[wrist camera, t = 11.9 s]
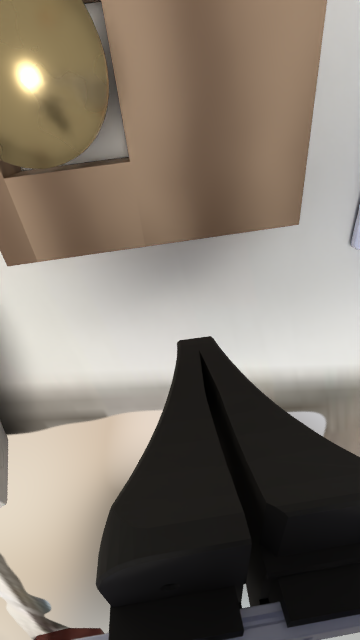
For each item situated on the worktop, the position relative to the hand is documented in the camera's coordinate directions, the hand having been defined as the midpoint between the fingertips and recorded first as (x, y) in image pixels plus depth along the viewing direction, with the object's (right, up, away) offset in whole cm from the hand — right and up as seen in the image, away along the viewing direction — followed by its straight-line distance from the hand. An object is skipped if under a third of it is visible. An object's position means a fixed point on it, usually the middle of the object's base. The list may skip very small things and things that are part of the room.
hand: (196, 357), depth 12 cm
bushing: (-6, +12, +2) cm, 14 cm away
